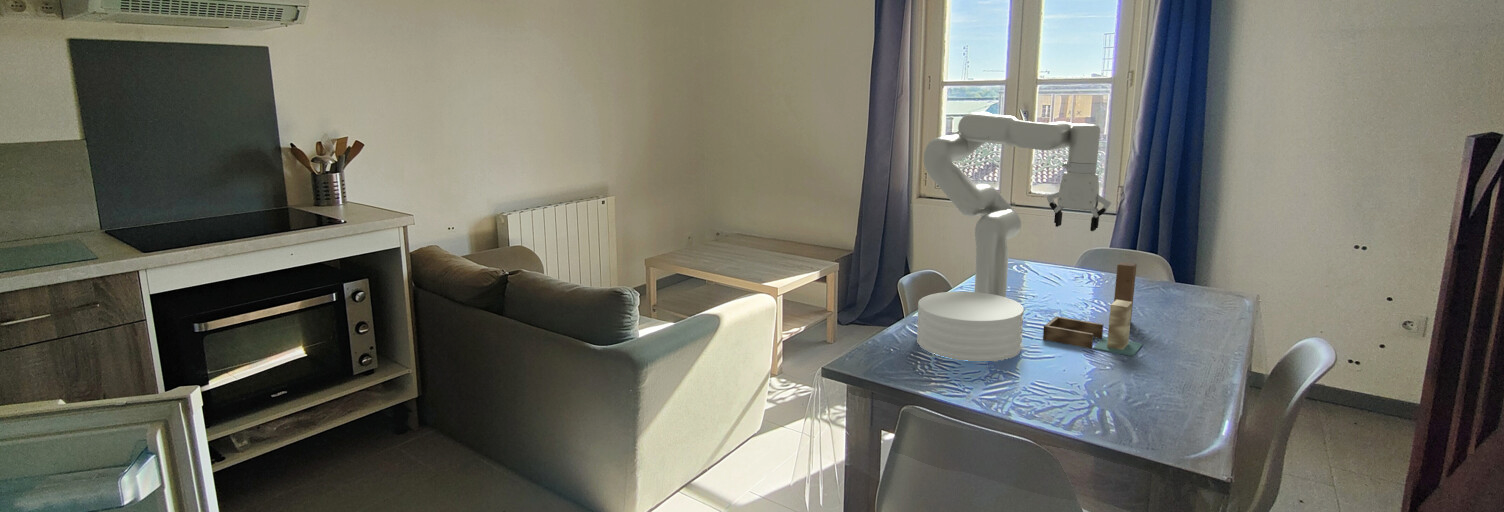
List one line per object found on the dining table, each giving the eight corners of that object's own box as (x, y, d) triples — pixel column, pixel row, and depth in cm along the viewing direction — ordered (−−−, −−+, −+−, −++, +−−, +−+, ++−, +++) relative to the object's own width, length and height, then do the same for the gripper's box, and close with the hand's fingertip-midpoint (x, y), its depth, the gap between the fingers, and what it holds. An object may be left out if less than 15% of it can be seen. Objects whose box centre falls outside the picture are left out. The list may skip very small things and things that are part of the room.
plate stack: (1021, 333, 225) (1024, 295, 223) (1020, 367, 200) (1023, 325, 197) (923, 325, 234) (924, 288, 232) (910, 356, 209) (911, 315, 206)
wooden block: (1124, 329, 226) (1130, 269, 222) (1108, 327, 229) (1113, 267, 225) (1131, 321, 233) (1136, 263, 229) (1115, 319, 236) (1120, 261, 232)
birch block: (1107, 347, 211) (1110, 304, 209) (1112, 341, 216) (1116, 299, 213) (1122, 350, 209) (1126, 307, 206) (1128, 343, 213) (1132, 301, 211)
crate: (1042, 339, 219) (1043, 326, 218) (1055, 329, 228) (1056, 316, 227) (1091, 348, 212) (1092, 334, 211) (1102, 337, 220) (1103, 324, 219)
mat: (1093, 349, 211) (1093, 347, 211) (1104, 338, 220) (1104, 336, 220) (1133, 356, 205) (1133, 355, 205) (1142, 344, 214) (1142, 343, 214)
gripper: (1045, 167, 221) (1040, 226, 225) (1110, 172, 210) (1103, 234, 215) (1054, 164, 227) (1049, 222, 231) (1118, 169, 216) (1111, 230, 220)
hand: (1075, 228), depth 223 cm, fingers open, 9 cm apart
